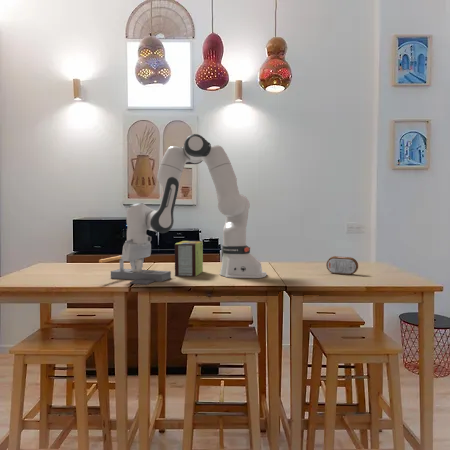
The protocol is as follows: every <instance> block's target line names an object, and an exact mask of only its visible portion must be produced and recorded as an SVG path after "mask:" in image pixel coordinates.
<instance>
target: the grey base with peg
mask: <svg viewBox="0 0 450 450" xmlns="http://www.w3.org/2000/svg"><path fill="white" fill-rule="evenodd" d="M124 262H125V261H123V259H119V269H115V270H111V271H110V279H116V280H117V279H118V280H129V281H130V280H132V281H135V280H138V279H147V280H155V282H160V283H161V282H164V281H167V280H169V279H171V278H172V272H171V271H170V270H155V269H154V270H153V269H142V272H132V269H131V268H125V267H124V264H125V263H124Z"/></svg>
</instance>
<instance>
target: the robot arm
mask: <svg viewBox="0 0 450 450" xmlns="http://www.w3.org/2000/svg"><path fill="white" fill-rule="evenodd" d="M202 162H204V163H205V164H206V166H207V169H208V171H209V174H210V176H211V179H212V181H213V184H214V188H215V192H216V193H215V194H216V197H217V203H218V204H217V207H218V210H219V212H220V213H221V214H222V215H223V216H225V220H224V225H223V229H222V246H221V255H222V261H221V268H220V272H219V276H223V277H226V278H231V279H232V278H233V279H234V278H235V279H240V278H241V279H243V278H244V279H245V278H246V279H261V278H265V277H267V272H266V271H263V267H262V263H261V261H260V260H259V259H257V258H256V257H255V256H254V255H253V254H251V246H248V245H247V225H248V217H249V209H250V200H249V199H248V197H246V196H245V195H244V194H241V193H240V191H239V187H238V181H237V179H238V178H237V175H236V174H235V170H234V168H233V166H232V163H231V160H230V158H229V156H228V154H227V152H226V151H225V149H224V148H223V146H221V145H219V144H217V145H212V144H211V143H210V142H209V140H207V139H206V138H204V136H202V135H200V134H198V133H192V134H191V135H189V136H187V137H186V139H185V141H184V143H183V146H176V145H172V146H169V147H168V148H167V149H166V150H165V153H164V154H163V157H162V159H161V161H160V164H159V166H158V167H159V168H158V170H157V181H158V183H159V184H160V185H161V186H162V188H163V189H162V190H163V192H162V197H161V200H160V203H159V204H160V205H159V207H158V209H157V210H155V209H154V208H151V207H150V206H147V205H146V204H145V203H144V202H143V203H141V202H139V203H133V204H130V205H129V206H128V207H127V210H126V226H127V229H126V240H125V242H124V243H123V246H122V253H121V255H122V259H123V261H124V262H129V265H130V266H131V267H130V269H132V270H135V269H136V266H135V260H142V268H143V267H144V262H145V258H148V257H150V256H151V253H152V243H151V241H152V236H150V235H148V234H147V231H148V230H149V231H152V232H155V233H160V234H165V233H168V232H169V231H171V229H172V228H173V226H174V219H175V218H174V211H175V205H176V201H177V197H178V192H179V187H180V186H179V185H180V181H181V178H182V173H183V172H184V169H185V165H198V164H201V163H202Z"/></svg>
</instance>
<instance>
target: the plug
mask: <svg viewBox="0 0 450 450" xmlns="http://www.w3.org/2000/svg"><path fill="white" fill-rule="evenodd" d="M135 266H136V269H135V270H132V272H142V270H143V267H142V260H139V259H137V260H135Z"/></svg>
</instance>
